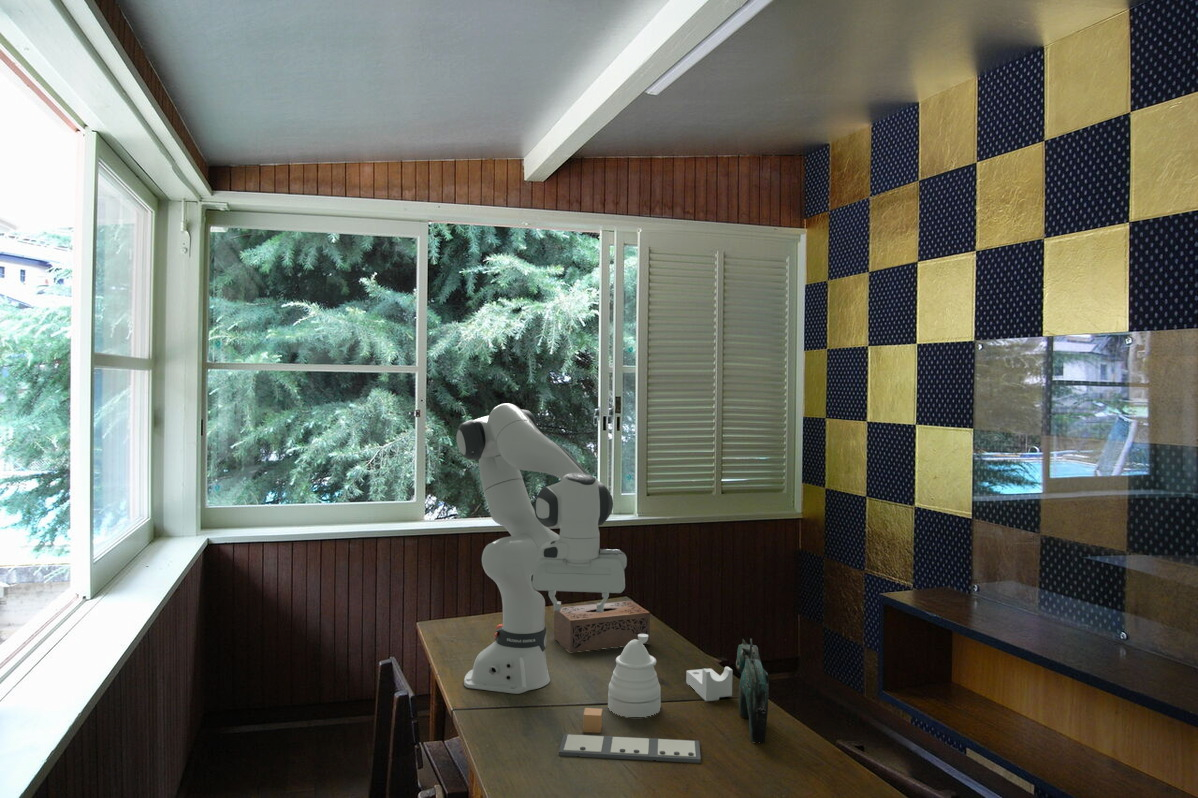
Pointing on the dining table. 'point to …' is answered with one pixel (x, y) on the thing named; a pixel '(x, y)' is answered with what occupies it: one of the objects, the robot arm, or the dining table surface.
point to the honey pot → (635, 682)
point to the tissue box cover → (600, 625)
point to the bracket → (710, 683)
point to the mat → (630, 748)
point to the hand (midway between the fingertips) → (578, 611)
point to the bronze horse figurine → (753, 690)
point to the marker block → (592, 720)
